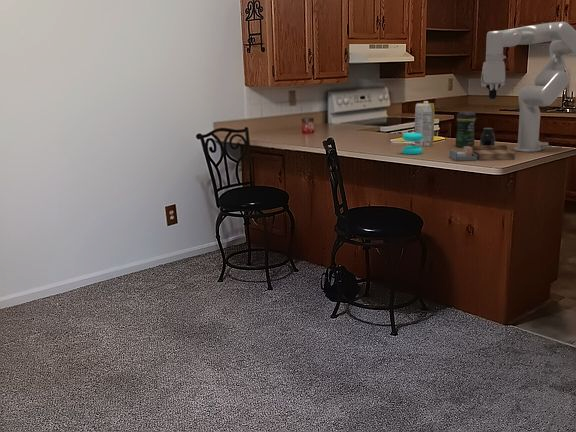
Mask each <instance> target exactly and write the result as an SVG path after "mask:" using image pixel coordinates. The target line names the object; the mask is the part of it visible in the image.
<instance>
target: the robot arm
mask: <svg viewBox="0 0 576 432" xmlns="http://www.w3.org/2000/svg"><path fill="white" fill-rule="evenodd" d="M544 42H545V43H546V42H551V43H550V44H549V60H548V62H547V63H546V65H545V66H544V67H543V68H542V69H541V71H540V72H539V73H538V74H537V75H536V76H535V78H534V82H533V84H534V85H526V86H523V87H522V88H521V89H520V90H519V92H518V104H519V105H518V106H519V117H518V118H519V119H518V132H517V133H518V138H517V146H514V149H513V150H514V151H515V152H524V153H526V152H528V153H535V152H541V151H542V147H548V146H549V142H548V141H547V142H546V141H544V142H543V141H541V140H539V139H540V137H539V136H540V126H541V125H540V124H541V110H540V107H548V106H550V105H551V104H553V103H554V102H555V101H556V99H558V97H559V96H560V95H561V94H562V93H563V91H565V90H566V87H567V86H568V83H569V79H570V78H569V75H568V73H567V71H565V70H566V67H567V65H566V58H565V56H576V29H575V28H574V27H573V26H572V25H571V24H569V23H568V22H566V21H555V22H554V21H553V22H545V23H538V24H533V25H526V26H521V27H516V28H510V29H509V28H508V29H504V30H503V29H502V30H492V31H491V30H490V31H487V33H486V43H485V44H486V45H485V47H486V48H485V50H486V51H485V61H484V62H483V64H482V68H481V69H482V70H481V74H480V75H481V76H480V78H481V79H480V82H481V86H480V87H485V88H487V90H488V97H489V99H490V100H495V99H496V97H497V92H498V89H499V88H500V87H502V86H503V87H504V86H505V85H506V66H505V65H506V63H505V61H504V60H505V59H507V56H506V55H504V48H507V47H508V48H510V47H511V48H512V47H516V46H517V45H520V46H521V45H522V46H523V45H534V44H540V43H544Z"/></svg>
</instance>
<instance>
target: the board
mask: <svg viewBox="0 0 576 432" xmlns="http://www.w3.org/2000/svg"><path fill="white" fill-rule="evenodd" d="M472 153H474V154H476V155H477V161H502V160H503V161H505V160H506V159H511V160H515V159H516V152H515V151H511V150H509V149H508V145H507V144H497V145H496V144H495V145H489V146H480V145H474V146H472Z"/></svg>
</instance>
